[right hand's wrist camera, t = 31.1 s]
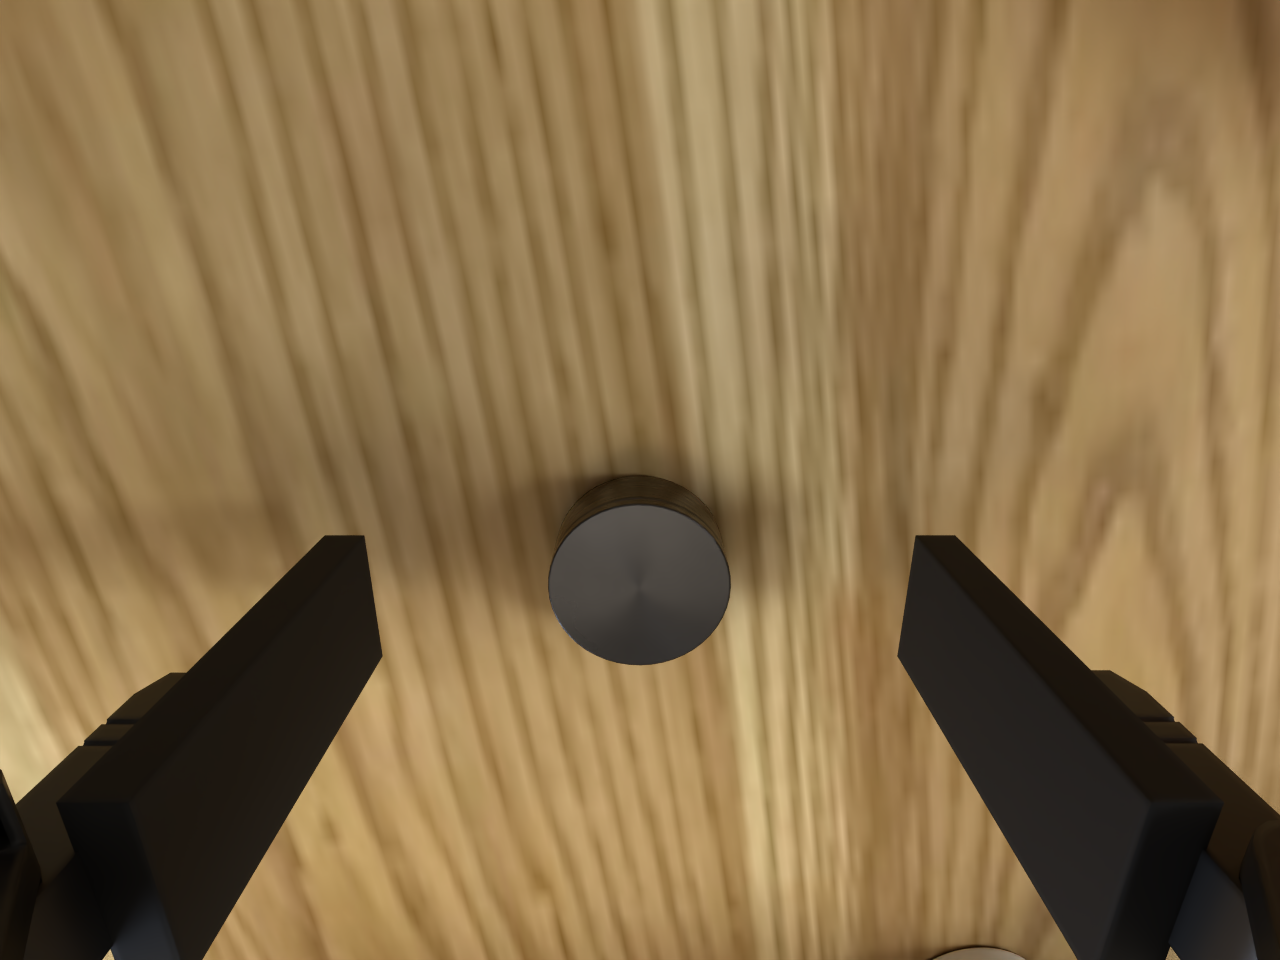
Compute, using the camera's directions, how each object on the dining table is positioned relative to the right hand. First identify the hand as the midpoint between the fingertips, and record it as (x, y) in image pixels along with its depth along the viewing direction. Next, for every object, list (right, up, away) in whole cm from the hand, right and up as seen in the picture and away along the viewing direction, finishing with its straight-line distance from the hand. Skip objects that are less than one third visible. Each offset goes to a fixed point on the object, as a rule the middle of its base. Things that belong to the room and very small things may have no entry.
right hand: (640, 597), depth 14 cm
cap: (0, 0, +1) cm, 1 cm away
